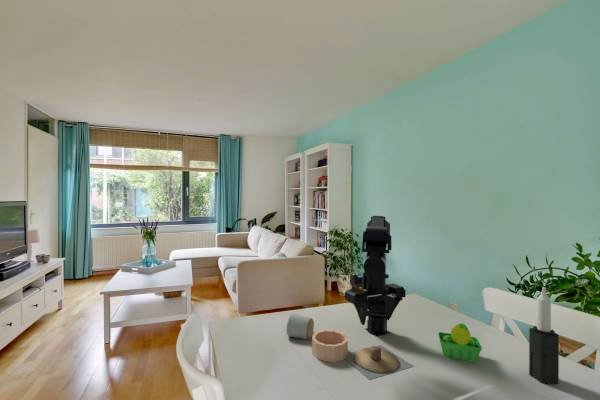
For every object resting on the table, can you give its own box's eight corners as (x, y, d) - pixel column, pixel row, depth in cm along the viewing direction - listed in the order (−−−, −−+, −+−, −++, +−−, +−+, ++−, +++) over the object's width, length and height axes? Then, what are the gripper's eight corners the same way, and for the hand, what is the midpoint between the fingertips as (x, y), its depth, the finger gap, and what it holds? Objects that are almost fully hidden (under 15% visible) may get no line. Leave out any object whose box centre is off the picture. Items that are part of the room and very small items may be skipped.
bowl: (335, 342, 101) (335, 327, 101) (354, 358, 91) (354, 341, 91) (306, 349, 96) (306, 333, 96) (323, 366, 86) (323, 349, 86)
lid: (378, 346, 97) (378, 335, 97) (408, 366, 86) (408, 354, 86) (345, 354, 92) (345, 343, 92) (372, 377, 80) (372, 364, 80)
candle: (526, 373, 84) (527, 284, 84) (543, 372, 84) (544, 284, 84) (543, 384, 78) (543, 289, 79) (561, 383, 79) (561, 289, 79)
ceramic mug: (308, 343, 100) (309, 320, 100) (285, 339, 102) (286, 317, 103) (316, 331, 110) (317, 310, 110) (296, 328, 112) (296, 307, 113)
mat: (381, 346, 98) (381, 344, 98) (413, 367, 86) (413, 366, 86) (340, 356, 92) (340, 355, 92) (369, 381, 79) (369, 379, 79)
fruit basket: (476, 353, 95) (476, 317, 95) (483, 367, 86) (484, 328, 87) (437, 347, 99) (437, 312, 99) (440, 360, 90) (440, 323, 90)
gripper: (382, 262, 100) (382, 308, 100) (334, 267, 92) (334, 317, 92) (407, 269, 90) (406, 321, 90) (356, 275, 82) (355, 331, 82)
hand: (375, 322), depth 89 cm, fingers open, 9 cm apart
